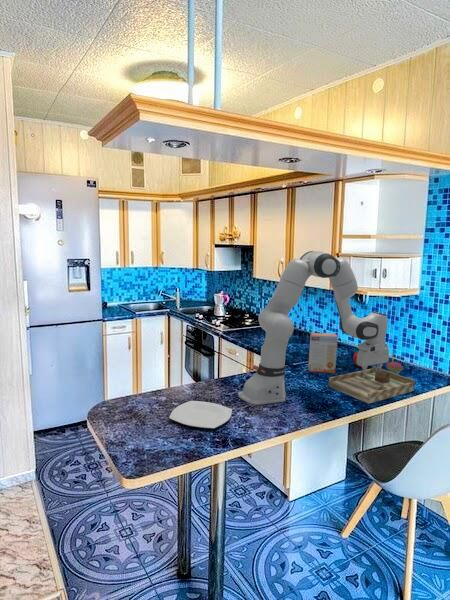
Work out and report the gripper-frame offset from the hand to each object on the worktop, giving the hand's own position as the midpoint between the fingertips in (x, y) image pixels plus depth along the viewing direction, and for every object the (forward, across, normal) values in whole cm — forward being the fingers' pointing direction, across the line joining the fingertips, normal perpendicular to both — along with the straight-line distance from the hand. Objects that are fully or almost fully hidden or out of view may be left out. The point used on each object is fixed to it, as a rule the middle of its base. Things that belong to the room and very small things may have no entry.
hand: (371, 372), depth 205 cm
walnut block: (+6, -9, 0) cm, 10 cm away
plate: (+11, +89, -10) cm, 91 cm away
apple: (+8, -26, -26) cm, 38 cm away
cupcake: (+8, -31, -8) cm, 33 cm away
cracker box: (+9, +2, -30) cm, 31 cm away
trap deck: (+8, -1, 0) cm, 8 cm away
